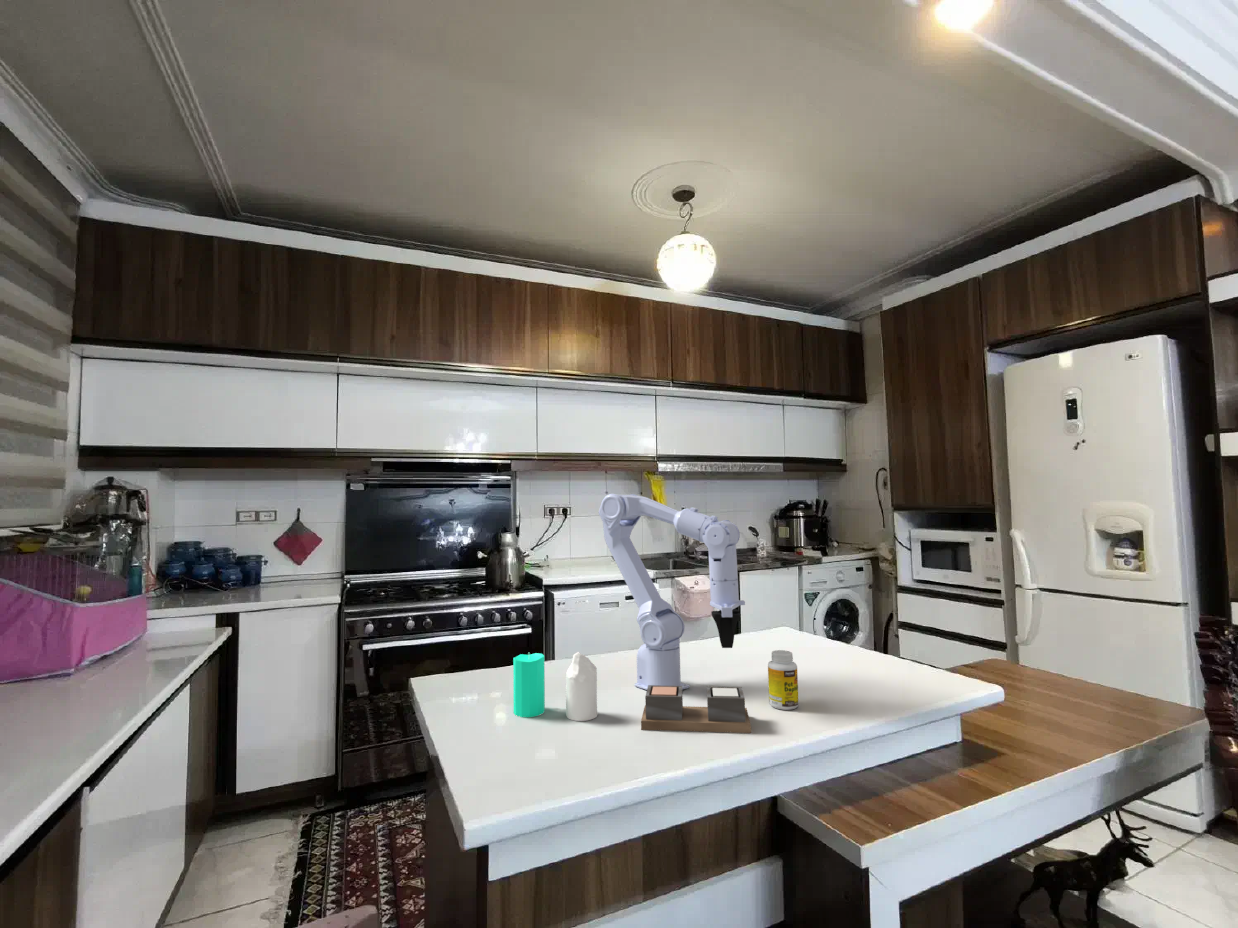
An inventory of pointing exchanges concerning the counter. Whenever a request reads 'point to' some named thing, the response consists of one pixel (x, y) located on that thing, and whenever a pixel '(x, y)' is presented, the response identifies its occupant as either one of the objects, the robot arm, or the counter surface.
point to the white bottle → (581, 689)
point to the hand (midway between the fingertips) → (727, 647)
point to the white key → (725, 692)
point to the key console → (695, 713)
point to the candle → (529, 685)
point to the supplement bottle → (783, 681)
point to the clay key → (664, 691)
